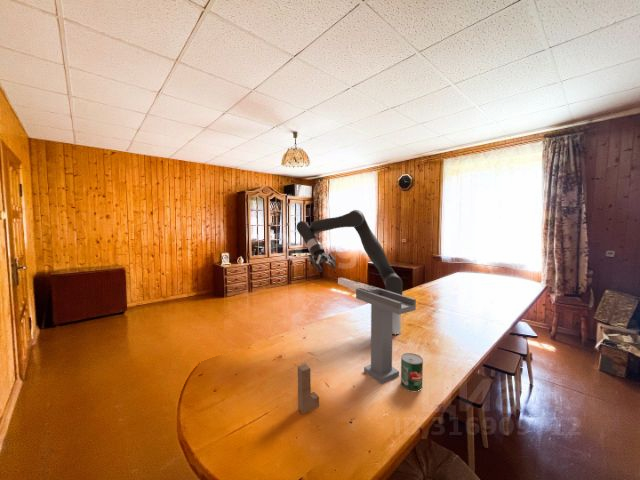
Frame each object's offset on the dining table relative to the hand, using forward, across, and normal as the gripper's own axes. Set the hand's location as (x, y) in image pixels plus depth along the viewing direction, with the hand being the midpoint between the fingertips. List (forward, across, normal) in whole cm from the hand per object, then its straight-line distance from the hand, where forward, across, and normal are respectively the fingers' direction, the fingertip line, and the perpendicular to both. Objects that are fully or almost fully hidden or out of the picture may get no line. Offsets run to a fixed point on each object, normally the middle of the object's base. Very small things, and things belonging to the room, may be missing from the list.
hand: (328, 269), depth 137 cm
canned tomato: (+63, +4, -2) cm, 63 cm away
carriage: (+20, +1, -9) cm, 22 cm away
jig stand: (+53, 0, +5) cm, 54 cm away
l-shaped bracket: (+54, -35, +3) cm, 64 cm away
